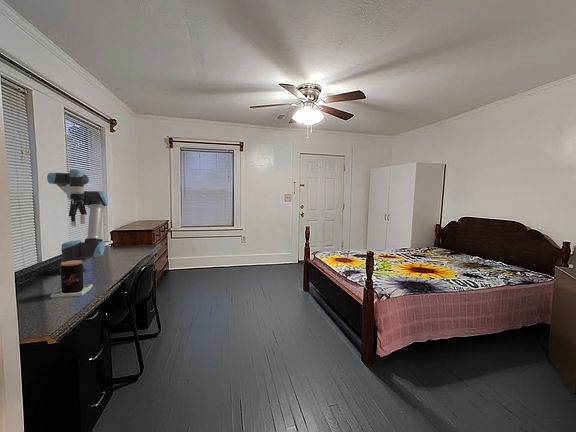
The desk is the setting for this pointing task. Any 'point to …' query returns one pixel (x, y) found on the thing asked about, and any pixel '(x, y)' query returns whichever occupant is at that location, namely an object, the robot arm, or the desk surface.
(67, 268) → the coffee jar
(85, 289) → the sage tray
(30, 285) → the desk surface
